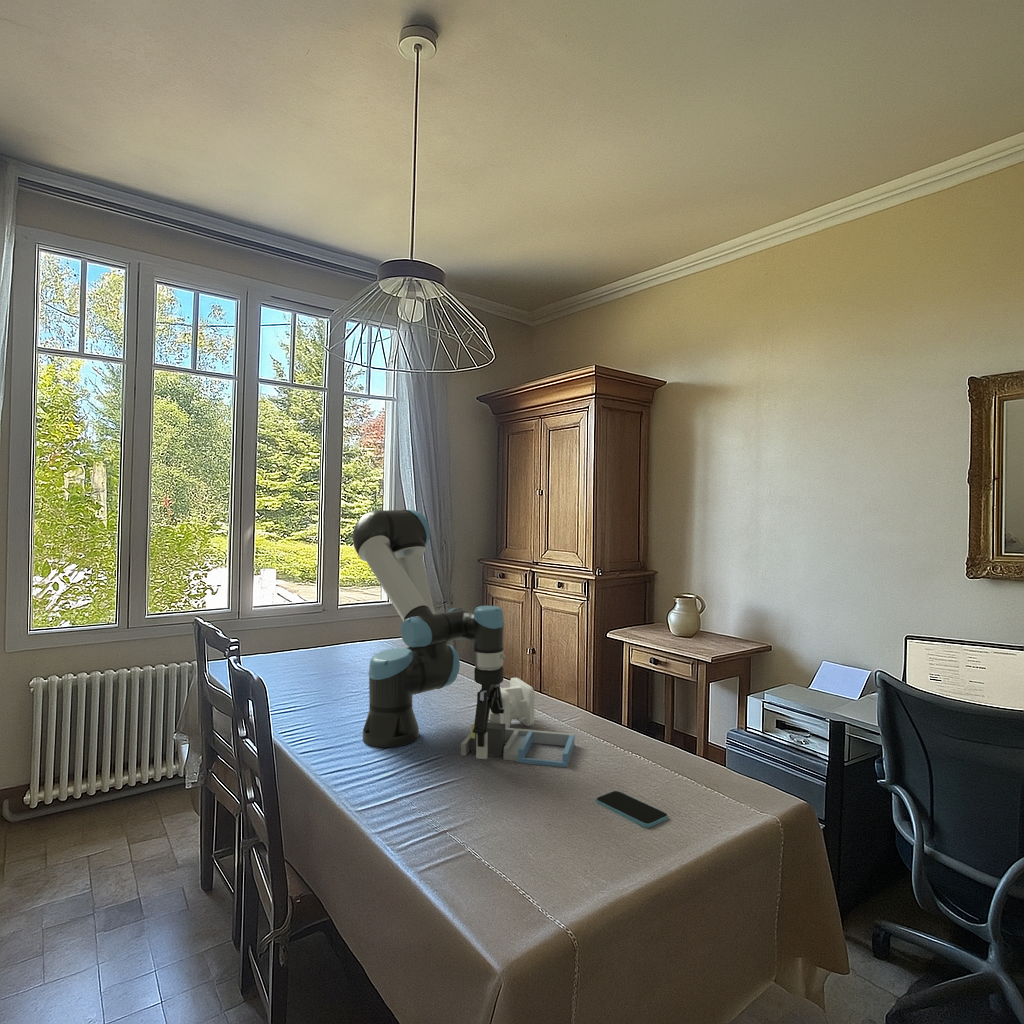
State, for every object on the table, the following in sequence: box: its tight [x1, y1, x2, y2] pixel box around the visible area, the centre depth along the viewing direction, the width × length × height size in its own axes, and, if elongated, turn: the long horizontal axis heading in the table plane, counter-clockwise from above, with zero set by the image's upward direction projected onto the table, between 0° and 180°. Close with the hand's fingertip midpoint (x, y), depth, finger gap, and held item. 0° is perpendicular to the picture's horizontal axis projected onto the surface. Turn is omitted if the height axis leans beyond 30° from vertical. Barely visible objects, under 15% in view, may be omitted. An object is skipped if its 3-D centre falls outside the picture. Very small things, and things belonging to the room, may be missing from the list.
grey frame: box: [460, 727, 576, 768], centre depth 169 cm, size 27×14×3 cm, turn 77°
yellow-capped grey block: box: [470, 721, 506, 757], centre depth 168 cm, size 8×4×7 cm, turn 77°
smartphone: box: [595, 790, 669, 829], centre depth 138 cm, size 7×1×15 cm
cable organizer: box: [488, 676, 536, 728], centre depth 188 cm, size 15×11×12 cm
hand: (488, 747), depth 168 cm, fingers open, 13 cm apart
